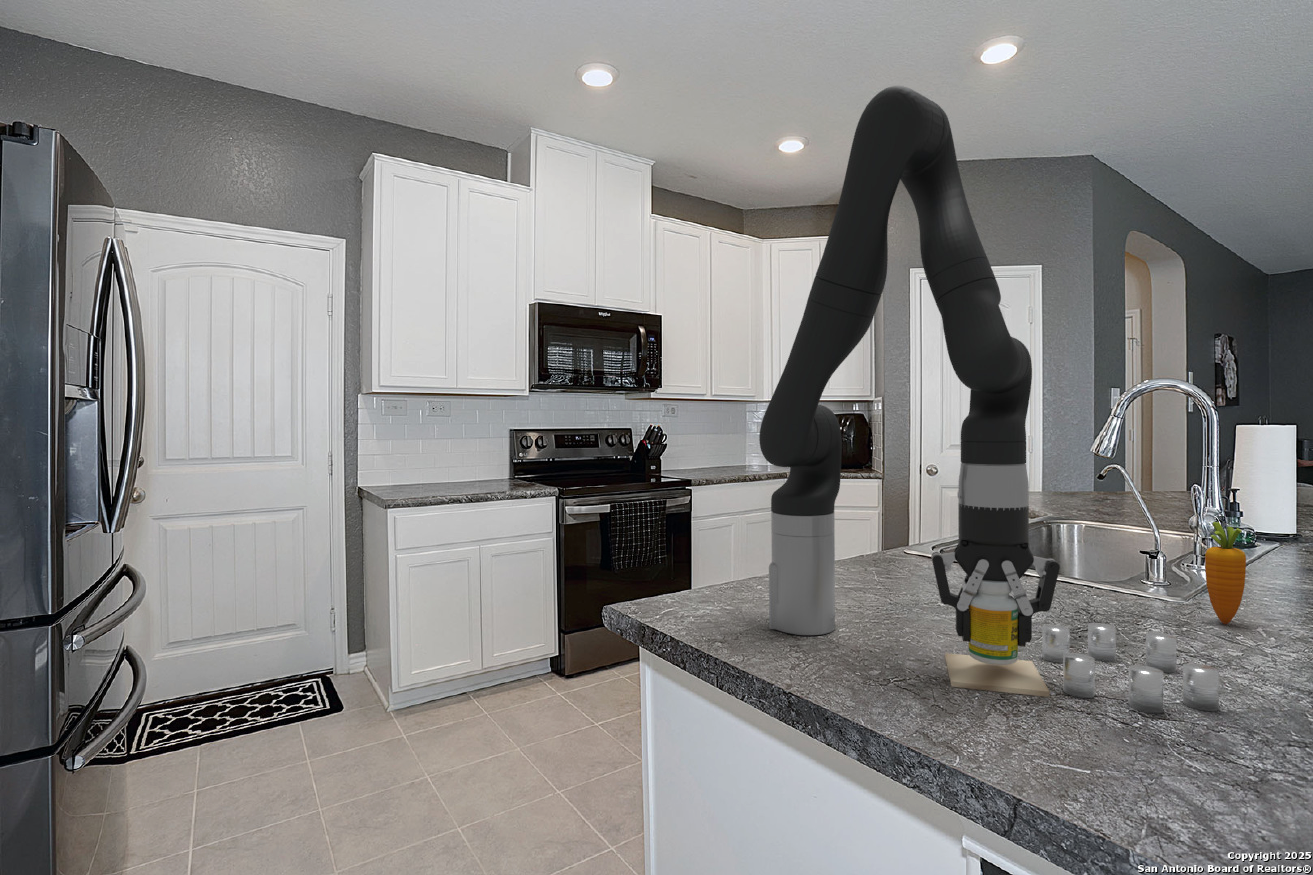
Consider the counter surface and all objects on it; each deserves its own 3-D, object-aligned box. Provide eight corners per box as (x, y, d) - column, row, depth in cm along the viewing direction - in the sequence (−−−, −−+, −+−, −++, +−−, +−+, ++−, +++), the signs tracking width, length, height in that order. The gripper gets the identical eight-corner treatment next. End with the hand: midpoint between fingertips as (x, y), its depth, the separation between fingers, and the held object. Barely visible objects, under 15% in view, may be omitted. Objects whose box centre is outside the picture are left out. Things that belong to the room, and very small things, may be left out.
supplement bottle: (967, 648, 85) (967, 572, 85) (1016, 653, 83) (1016, 575, 83) (968, 662, 80) (968, 581, 80) (1020, 668, 78) (1020, 585, 78)
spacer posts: (1072, 704, 73) (1072, 667, 73) (1036, 647, 91) (1036, 618, 91) (1234, 722, 68) (1235, 682, 68) (1163, 658, 86) (1163, 627, 86)
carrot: (1254, 630, 97) (1254, 526, 97) (1212, 627, 99) (1212, 525, 98) (1237, 620, 102) (1238, 521, 101) (1197, 618, 103) (1197, 520, 103)
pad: (951, 686, 78) (951, 681, 78) (944, 657, 88) (944, 652, 88) (1049, 697, 75) (1049, 691, 75) (1032, 665, 85) (1031, 660, 85)
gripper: (929, 503, 80) (930, 646, 80) (1069, 506, 75) (1069, 658, 75) (926, 496, 87) (926, 627, 87) (1054, 499, 82) (1054, 638, 83)
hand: (993, 641), depth 81 cm, fingers closed on supplement bottle, 5 cm apart
